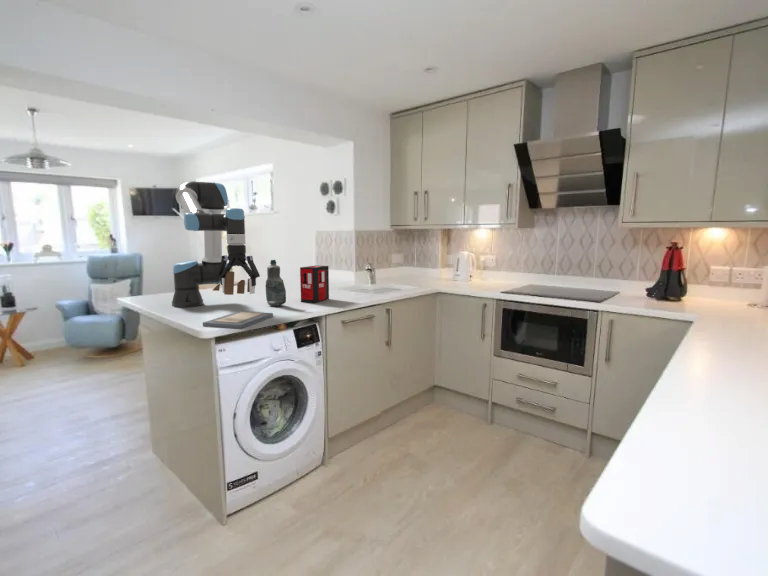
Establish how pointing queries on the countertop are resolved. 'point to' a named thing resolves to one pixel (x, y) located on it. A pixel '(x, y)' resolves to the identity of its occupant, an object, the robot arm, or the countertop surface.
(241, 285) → the wooden block set
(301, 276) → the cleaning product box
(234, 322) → the baseplate
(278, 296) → the detergent
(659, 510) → the countertop surface
